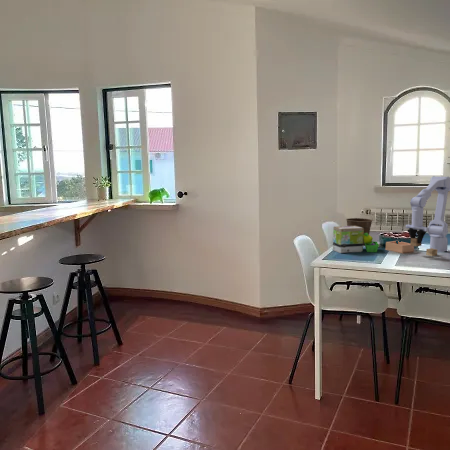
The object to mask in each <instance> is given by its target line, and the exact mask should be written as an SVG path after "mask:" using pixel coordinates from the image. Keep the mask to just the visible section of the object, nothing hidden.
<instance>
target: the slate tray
mask: <svg viewBox="0 0 450 450" xmlns="http://www.w3.org/2000/svg"><path fill="white" fill-rule="evenodd" d="M383 250H385V251H389V250H386V248H385V249H383ZM389 252H390V251H389ZM391 252H393V253H396V254H399V253H398V252H394V251H391ZM420 253H421V252H419V251H415V250H414V252H410V253H403V254H402V253H400V254H402V255H406V256H407V255H413V254H414V255H415V254H420Z"/></svg>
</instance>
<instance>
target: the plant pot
mask: <svg viewBox="0 0 450 450" xmlns="http://www.w3.org/2000/svg"><path fill="white" fill-rule="evenodd" d="M345 221H346V226H358V227H362V228H364V233H368V234H369V235H370V233H371V232H370V231H371V227H372V223H373V219H370V218H363V217H362V218H360V217H354V218H352V217H351V218H350V217H349V218H346V219H345ZM363 235H364V234H363ZM363 247H365V243H364V241H363Z"/></svg>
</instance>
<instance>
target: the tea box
mask: <svg viewBox="0 0 450 450" xmlns="http://www.w3.org/2000/svg"><path fill="white" fill-rule="evenodd" d="M363 234H364V228H362V227H358V226H347V225H344V226H343V225H341V226H333V233H332V251H334V252H337V253H339V254H344V253H361V252H362V253H363V251H364V250H363V249H364V248H363V247H364V246H363Z"/></svg>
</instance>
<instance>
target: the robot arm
mask: <svg viewBox="0 0 450 450" xmlns="http://www.w3.org/2000/svg"><path fill="white" fill-rule="evenodd" d="M434 191H436V192H437V199H436V206H435V211H434V218H433V219H432V220H430V221H429V224H428V226H424V225H423V224H424V208H425V207H426V204H427V202H428V200H429V199H430V198H431V197H432V193H433V192H434ZM449 192H450V176H435V175H433V176H432V177H431V178H430V181H429V183H428V185H427V186H426V188H422V190H421V191H419V192H418V193H417V195H416V196H414V197H412V198H411V199H410V201H409V203H410V207H411V209H410V210H411V211H412V212H411V224H405V229H407V232H408V235H409V238H410V239H411V238H418V239H417V241H418V243H421V242H422V241H423V240H424V239H423V238H424V237H425V235H426V234H427V233H428V235H429V237H430V238H429V239H430V240H429V242H430V243H429V249H430V248H432V249H437V253H440V252H441V253H445V252H444V251H447V250H448V244H449V243H448V241H449V240H448V237H447V236H448V233H449V229H448V227H449V224H448V223H447V222H446V221H445V214H446V206H447V201H448V195H449ZM416 236H417V237H416ZM422 243H423V242H422ZM447 252H448V251H447Z"/></svg>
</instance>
